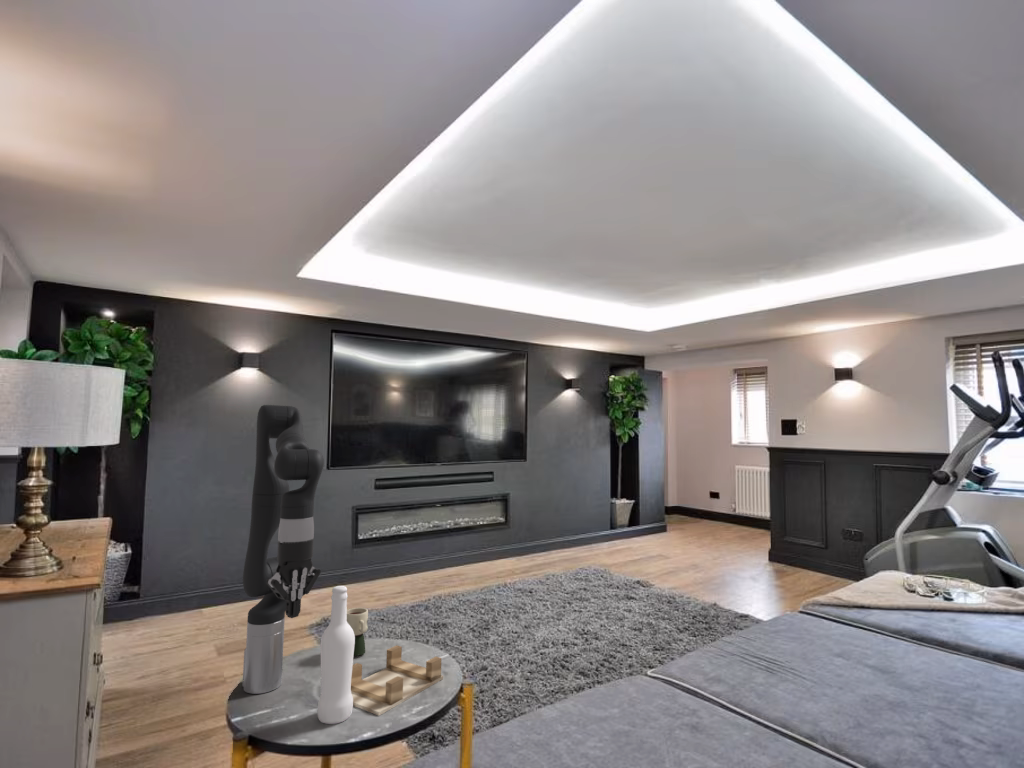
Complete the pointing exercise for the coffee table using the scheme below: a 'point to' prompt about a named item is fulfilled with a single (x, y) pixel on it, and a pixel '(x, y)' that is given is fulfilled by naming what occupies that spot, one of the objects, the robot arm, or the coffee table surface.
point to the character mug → (358, 627)
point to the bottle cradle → (392, 682)
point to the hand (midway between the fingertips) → (292, 616)
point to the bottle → (336, 663)
